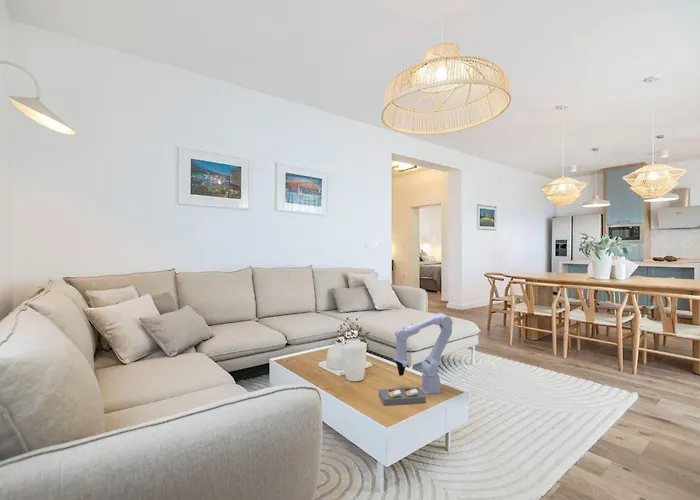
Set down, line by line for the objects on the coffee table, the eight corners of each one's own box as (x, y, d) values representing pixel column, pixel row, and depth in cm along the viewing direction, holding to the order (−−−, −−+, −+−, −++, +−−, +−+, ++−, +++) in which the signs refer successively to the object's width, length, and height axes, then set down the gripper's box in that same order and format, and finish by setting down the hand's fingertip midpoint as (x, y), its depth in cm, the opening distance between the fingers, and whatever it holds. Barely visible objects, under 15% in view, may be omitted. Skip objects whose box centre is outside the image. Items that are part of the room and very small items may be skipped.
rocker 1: (399, 391, 178) (399, 389, 178) (401, 394, 175) (401, 392, 175) (388, 394, 177) (388, 392, 177) (390, 397, 174) (390, 395, 174)
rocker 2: (416, 390, 180) (415, 388, 180) (418, 393, 176) (417, 391, 176) (405, 393, 179) (404, 391, 179) (407, 396, 175) (407, 394, 175)
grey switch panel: (417, 392, 187) (417, 386, 187) (425, 402, 175) (425, 396, 175) (378, 394, 184) (378, 389, 184) (384, 405, 172) (384, 399, 172)
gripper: (390, 346, 194) (390, 370, 194) (398, 355, 180) (397, 380, 180) (402, 346, 195) (402, 369, 195) (410, 354, 181) (410, 380, 181)
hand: (401, 375), depth 188 cm, fingers closed
